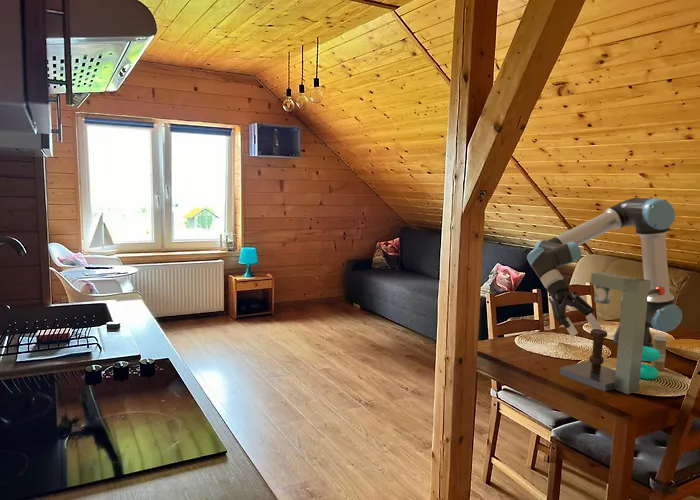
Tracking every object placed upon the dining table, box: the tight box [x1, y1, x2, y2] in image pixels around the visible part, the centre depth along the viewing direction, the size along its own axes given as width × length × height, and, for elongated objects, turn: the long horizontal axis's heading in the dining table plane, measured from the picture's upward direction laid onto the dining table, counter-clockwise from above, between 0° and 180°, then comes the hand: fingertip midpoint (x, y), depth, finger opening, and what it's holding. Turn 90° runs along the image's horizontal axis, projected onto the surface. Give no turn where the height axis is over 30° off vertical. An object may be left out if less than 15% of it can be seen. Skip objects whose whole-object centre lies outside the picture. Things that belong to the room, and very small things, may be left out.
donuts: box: [640, 346, 661, 380], centre depth 192 cm, size 10×10×10 cm
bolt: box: [588, 328, 608, 373], centre depth 187 cm, size 6×5×15 cm
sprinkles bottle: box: [650, 332, 669, 371], centre depth 199 cm, size 5×5×13 cm
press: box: [559, 271, 665, 395], centre depth 186 cm, size 24×24×38 cm
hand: (587, 332), depth 190 cm, fingers open, 13 cm apart
